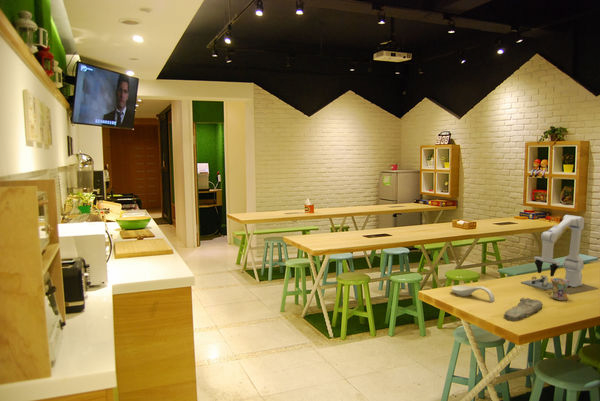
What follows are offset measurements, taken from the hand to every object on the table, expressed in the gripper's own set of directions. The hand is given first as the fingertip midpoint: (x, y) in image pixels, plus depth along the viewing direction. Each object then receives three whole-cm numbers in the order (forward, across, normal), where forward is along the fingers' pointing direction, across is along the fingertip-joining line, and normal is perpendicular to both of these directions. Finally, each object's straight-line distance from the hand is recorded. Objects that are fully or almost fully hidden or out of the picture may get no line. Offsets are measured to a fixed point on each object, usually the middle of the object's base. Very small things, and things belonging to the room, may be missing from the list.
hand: (545, 274), depth 266 cm
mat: (+10, -8, +9) cm, 16 cm away
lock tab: (+9, -14, +11) cm, 20 cm away
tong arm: (+9, -8, +11) cm, 16 cm away
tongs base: (+9, -11, +10) cm, 17 cm away
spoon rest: (+11, -13, -47) cm, 50 cm away
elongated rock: (+11, +16, -43) cm, 47 cm away
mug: (+10, +11, -5) cm, 16 cm away
